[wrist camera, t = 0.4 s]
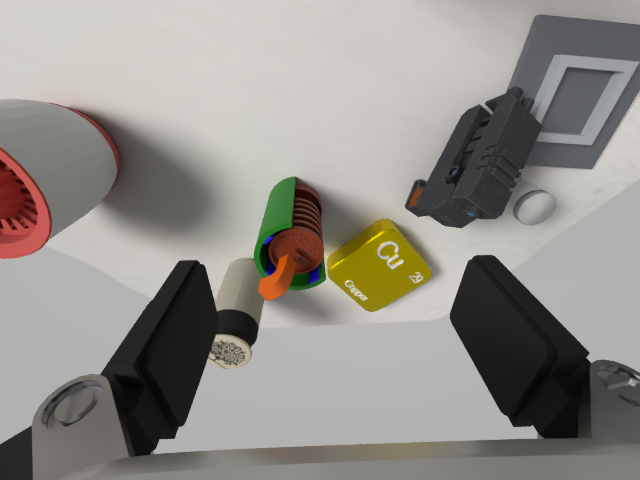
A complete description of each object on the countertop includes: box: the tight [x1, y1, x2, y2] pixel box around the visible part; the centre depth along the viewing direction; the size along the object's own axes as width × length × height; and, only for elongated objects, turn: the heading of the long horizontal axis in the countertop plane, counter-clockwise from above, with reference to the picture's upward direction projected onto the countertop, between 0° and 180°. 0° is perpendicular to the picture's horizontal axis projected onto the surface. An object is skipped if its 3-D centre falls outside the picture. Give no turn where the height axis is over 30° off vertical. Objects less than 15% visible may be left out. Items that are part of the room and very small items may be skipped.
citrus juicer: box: [0, 99, 120, 259], centre depth 33 cm, size 16×17×20 cm
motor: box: [254, 177, 326, 301], centre depth 39 cm, size 10×9×20 cm
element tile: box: [327, 219, 431, 312], centre depth 53 cm, size 15×15×5 cm
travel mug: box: [206, 259, 264, 369], centre depth 48 cm, size 8×8×18 cm
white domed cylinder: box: [504, 178, 556, 225], centre depth 45 cm, size 5×5×7 cm
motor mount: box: [508, 15, 640, 169], centre depth 39 cm, size 18×18×2 cm
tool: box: [405, 86, 543, 228], centre depth 40 cm, size 6×19×15 cm, turn 146°
